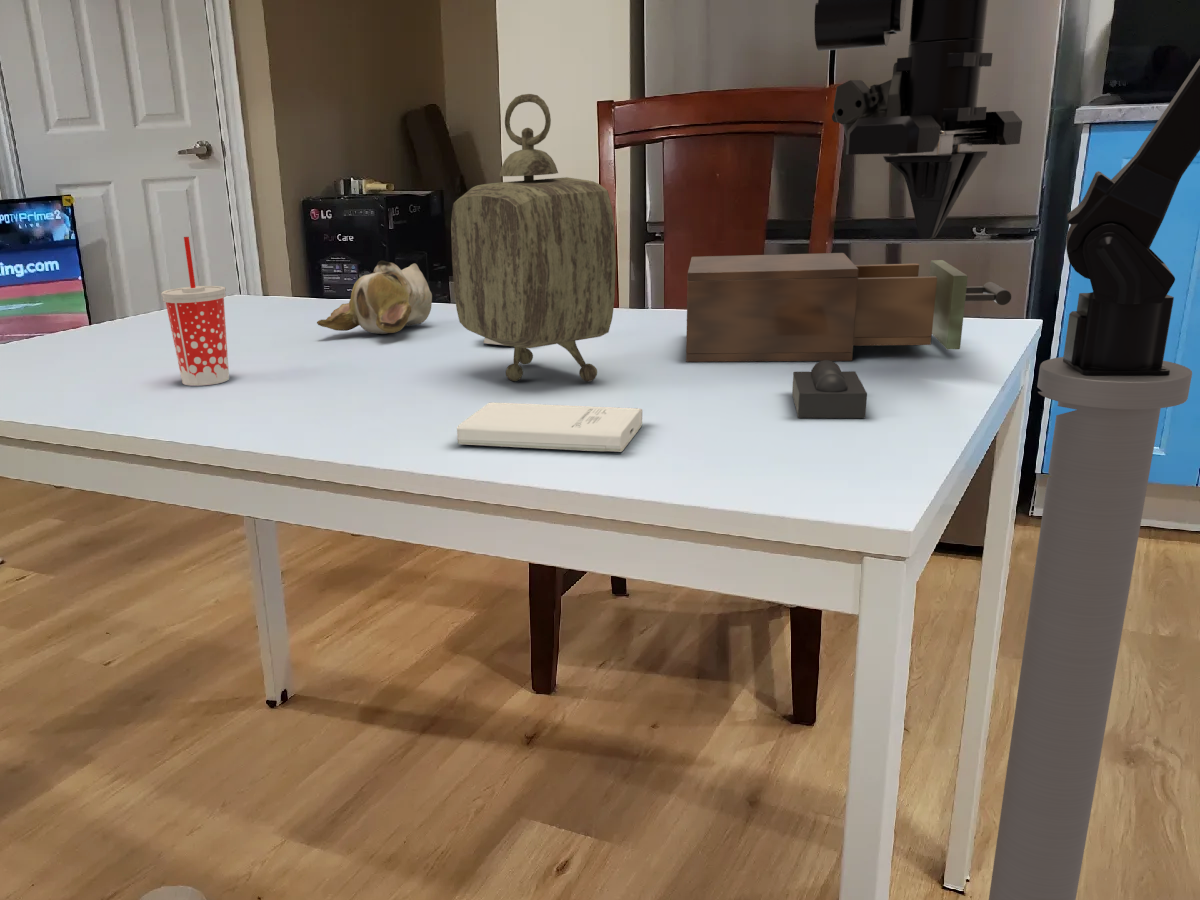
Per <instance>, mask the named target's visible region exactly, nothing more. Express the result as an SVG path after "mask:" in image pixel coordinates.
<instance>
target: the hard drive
mask: <svg viewBox="0 0 1200 900" xmlns="http://www.w3.org/2000/svg"><path fill="white" fill-rule="evenodd" d="M642 426H643V409H642V408H638V407H637V408H636V407H634V408H633V407H631V408H630V407H610V406H587V405H585V406H584V405H566V404H565V405H564V404H541V403H540V404H538V403H515V402H488V403H487V404H485V405H484V406H483V407H481V408H480V409H479V410H477V411H475V412H473V414H471V415H470V416H469V417H467V418H466V419H464V420H463V421H461V423H460V424H458V425H457V427H456V439H457V444H458V445H465V446H467V445H469V446H485V447H501V448H503V447H505V448H523V449H540V450H541V449H542V450H561V451H562V450H563V451H581V452H582V451H583V452H584V451H585V452H602V453H603V452H615V453H617V452H618V453H622V452H623V451H624V450H625V449H626V447H627V446H628V445H629V444H630V443H631V441H632V440H633V438H634V437H635V436H636V434H637V433H638V432H639V430H640V429H641V427H642Z"/></svg>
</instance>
